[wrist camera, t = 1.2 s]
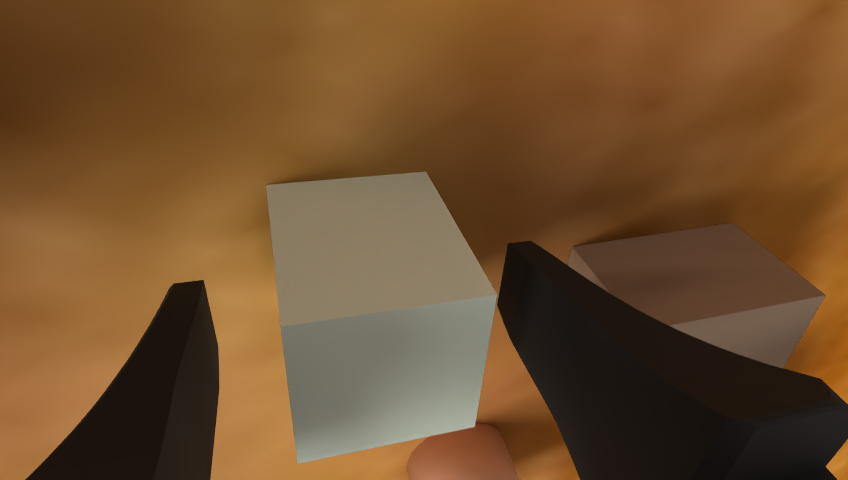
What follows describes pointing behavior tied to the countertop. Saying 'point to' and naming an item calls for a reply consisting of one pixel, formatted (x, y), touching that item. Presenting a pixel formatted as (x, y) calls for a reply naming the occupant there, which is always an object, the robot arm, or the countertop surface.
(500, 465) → the terracotta cylinder
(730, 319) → the walnut block
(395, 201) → the sage block
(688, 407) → the robot arm
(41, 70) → the countertop surface
